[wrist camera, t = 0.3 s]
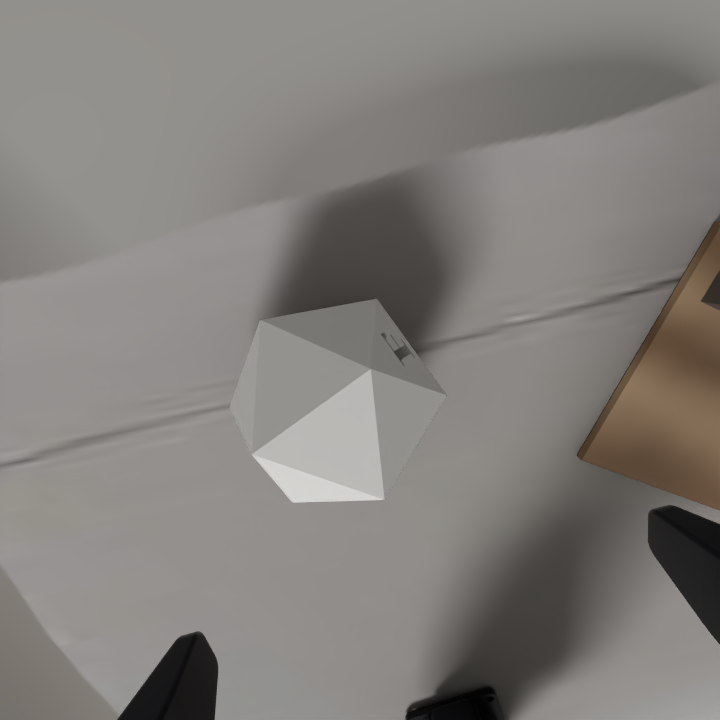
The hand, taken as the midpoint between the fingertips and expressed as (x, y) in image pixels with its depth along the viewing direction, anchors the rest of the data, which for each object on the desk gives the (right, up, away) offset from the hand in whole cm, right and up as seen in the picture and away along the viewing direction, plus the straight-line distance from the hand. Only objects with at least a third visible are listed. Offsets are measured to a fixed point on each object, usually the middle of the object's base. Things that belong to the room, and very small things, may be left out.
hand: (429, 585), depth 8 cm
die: (-3, +4, +14) cm, 15 cm away
